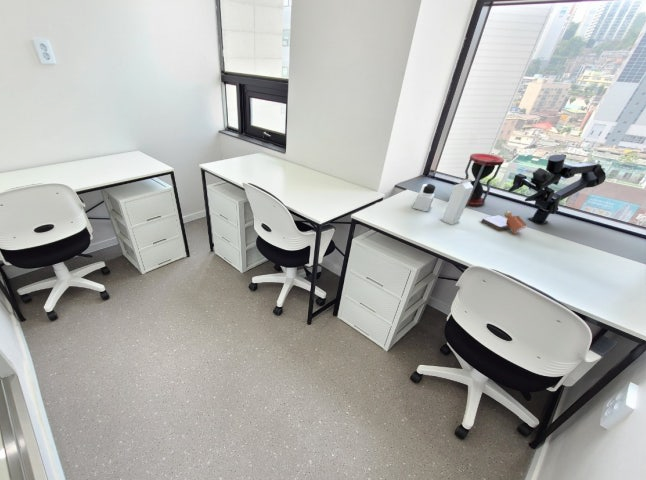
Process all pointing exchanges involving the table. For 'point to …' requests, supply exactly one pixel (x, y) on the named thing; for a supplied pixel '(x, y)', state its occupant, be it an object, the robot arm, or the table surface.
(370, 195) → the table surface
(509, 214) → the bottle
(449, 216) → the milk
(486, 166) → the hourglass
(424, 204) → the container
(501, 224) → the riser
